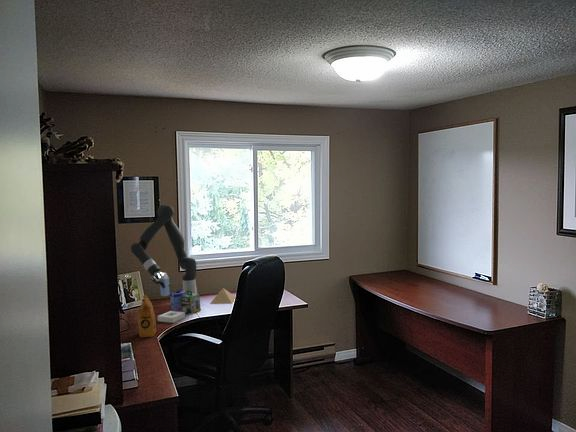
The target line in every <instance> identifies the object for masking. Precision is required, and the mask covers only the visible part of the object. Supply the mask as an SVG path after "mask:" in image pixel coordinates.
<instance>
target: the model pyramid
mask: <svg viewBox="0 0 576 432" xmlns="http://www.w3.org/2000/svg"><path fill="white" fill-rule="evenodd" d="M235 297H236V296H235V295H234V294H232V293H231V292H230V291H228V290H227V289H225V288H222V289H221V290H220V291H219V292H218V293H217V294H216V296H215V297H214V298H213V299H212V301H211V302H210V303H209V304H210V305H222V304H223V305H225V304H226V305H227V304H229V305H231V304H233V303H234V302H235V301H234V299H235Z"/></svg>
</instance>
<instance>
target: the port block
mask: <svg viewBox="0 0 576 432" xmlns="http://www.w3.org/2000/svg"><path fill="white" fill-rule="evenodd" d="M185 318H186V313H185V312H182V311H177V312H176V311H171V310H170V311H166V312H165V313H162V314H159V315H157V322H158V323H166V324H167V323H169V324H174V323H177V322H180V321H181V320H184V319H185Z"/></svg>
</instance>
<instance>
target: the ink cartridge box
mask: <svg viewBox="0 0 576 432" xmlns="http://www.w3.org/2000/svg"><path fill="white" fill-rule="evenodd" d="M183 295H186V292H184V291H183V290H182V289H177V290H176V292H170V295H169V297H170V311H176V312H182V305H181V296H183Z"/></svg>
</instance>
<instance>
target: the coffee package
mask: <svg viewBox="0 0 576 432" xmlns="http://www.w3.org/2000/svg"><path fill="white" fill-rule="evenodd" d="M142 297H143V299H141V305H140V306H139V308H138V309H139V310H138V317H137V323H138V324H137V326H138V333H139V337H140V338H141V339H142V338H150V337H154V336H155V335H156V333H157V323H156V314H155V310H154V306H153V303H152V301H151V300H150V299H149V297H148V296H147V294H144V295H143V296H142Z"/></svg>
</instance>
